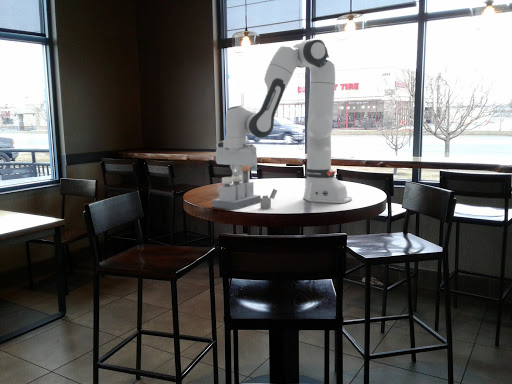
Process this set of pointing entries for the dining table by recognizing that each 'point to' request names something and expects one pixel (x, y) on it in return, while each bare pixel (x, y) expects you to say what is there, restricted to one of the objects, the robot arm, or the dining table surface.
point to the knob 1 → (226, 181)
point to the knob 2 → (245, 173)
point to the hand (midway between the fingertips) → (236, 175)
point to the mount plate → (236, 196)
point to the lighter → (268, 199)
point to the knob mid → (236, 179)
